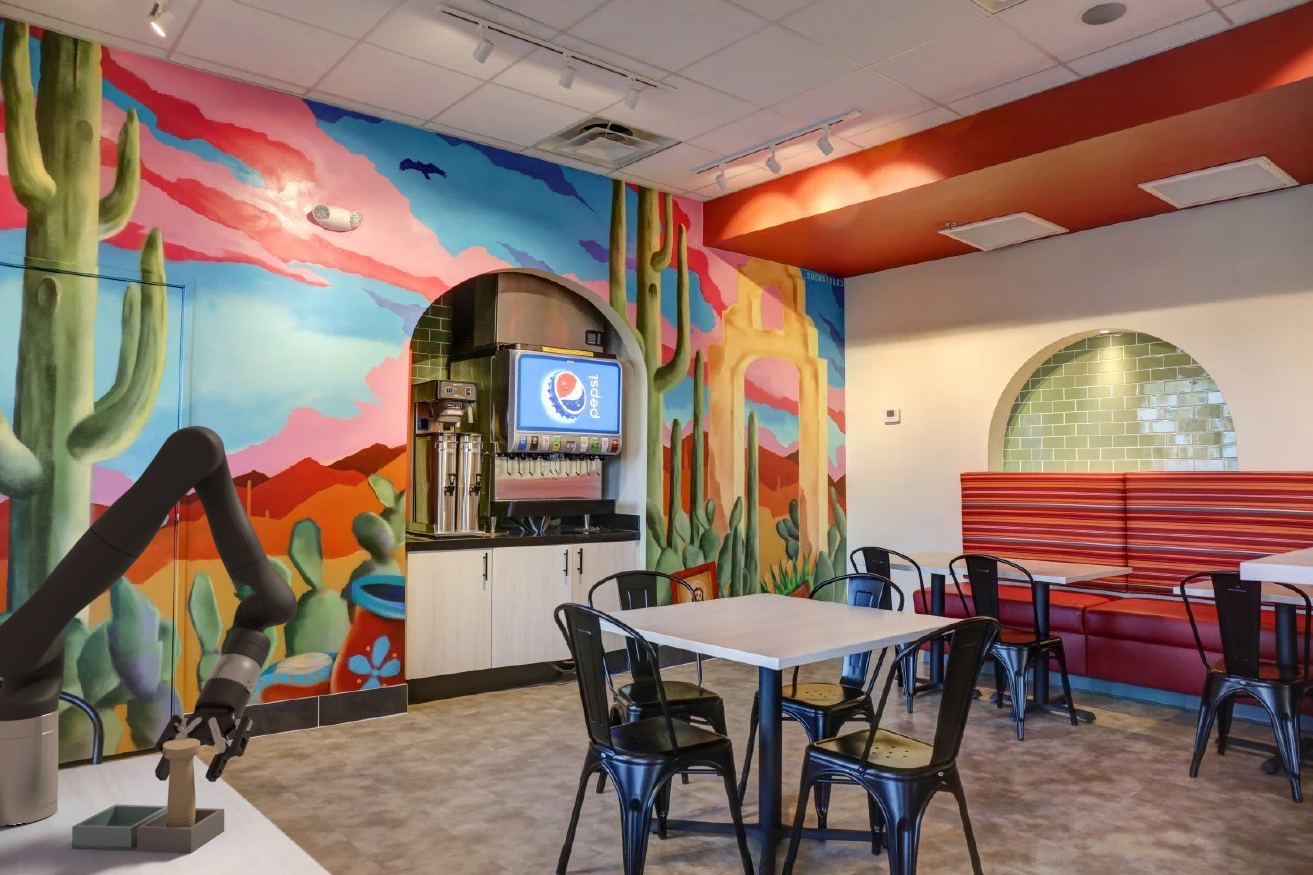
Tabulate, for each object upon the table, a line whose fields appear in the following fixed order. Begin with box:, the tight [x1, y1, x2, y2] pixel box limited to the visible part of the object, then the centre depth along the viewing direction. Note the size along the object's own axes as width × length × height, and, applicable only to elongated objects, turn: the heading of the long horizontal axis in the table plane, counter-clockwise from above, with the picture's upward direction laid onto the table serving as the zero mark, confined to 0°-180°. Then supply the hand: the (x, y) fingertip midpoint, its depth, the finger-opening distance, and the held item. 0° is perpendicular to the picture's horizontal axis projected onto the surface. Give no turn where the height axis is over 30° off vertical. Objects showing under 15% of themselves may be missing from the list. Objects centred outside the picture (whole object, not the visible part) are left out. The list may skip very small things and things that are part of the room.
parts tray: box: [71, 803, 168, 851], centre depth 137 cm, size 10×9×3 cm
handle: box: [162, 737, 201, 827], centre depth 135 cm, size 5×6×15 cm
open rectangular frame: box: [136, 807, 225, 854], centre depth 135 cm, size 9×8×4 cm
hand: (185, 779), depth 136 cm, fingers open, 8 cm apart
